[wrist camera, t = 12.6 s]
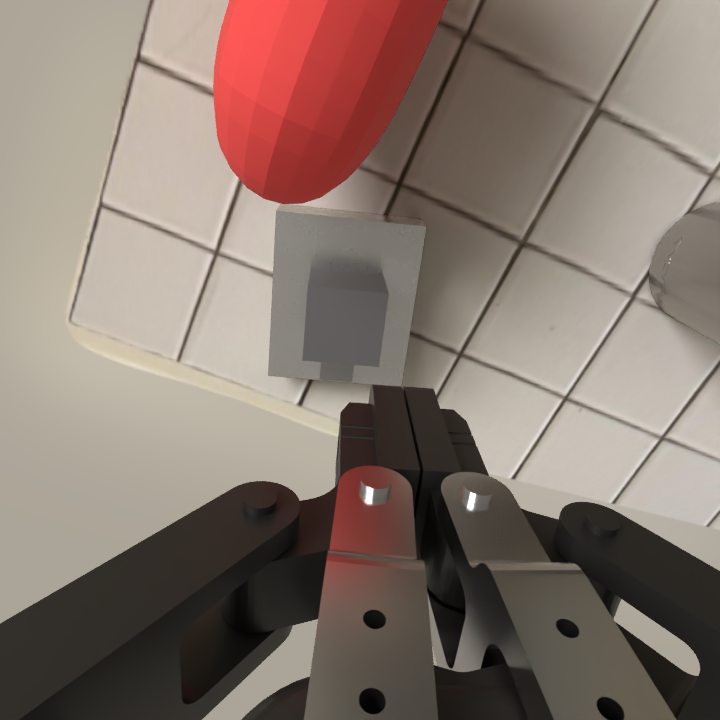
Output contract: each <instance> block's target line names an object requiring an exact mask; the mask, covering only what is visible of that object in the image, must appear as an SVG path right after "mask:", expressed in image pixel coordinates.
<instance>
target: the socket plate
mask: <svg viewBox="0 0 720 720" xmlns="http://www.w3.org/2000/svg"><path fill="white" fill-rule="evenodd" d="M425 233H426V226H425V224H424V223H423V222H422V221H421V220H420V219H415V218H406V217H397V216H388V215H378V214H369V213H360V212H351V211H342V210H332V209H323V208H314V207H305V206H295V205H286V204H281V205H280V206H279V207H278V209H277V210H276V225H275V246H274V267H273V288H272V308H271V329H270V350H269V371H268V376H276V377H288V378H300V379H312V380H324V381H336V382H348V383H360V384H375V385H388V386H402V380H403V373H404V367H405V360H406V354H407V348H408V341H409V335H410V329H411V322H412V316H413V310H414V303H415V297H416V291H417V284H418V278H419V272H420V265H421V259H422V252H423V246H424V240H425ZM311 268H315V269H325V270H336V271H346V272H356V273H366V274H376V275H384V279H385V282H386V285H387V289H388V292H389V297H388V304H387V312H386V319H385V326H384V334H383V341H382V348H381V356H380V363H379V367H372V366H360V365H348V364H337V363H325V362H313V361H302V358H303V344H304V331H305V317H306V304H307V290H308V282H309V277H310V271H311Z"/></svg>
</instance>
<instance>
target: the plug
mask: <svg viewBox="0 0 720 720" xmlns="http://www.w3.org/2000/svg"><path fill="white" fill-rule="evenodd" d="M388 297H389V292H388V289H387V285H386V282H385V279H384V275H376V274H366V273H356V272H346V271H336V270H325V269H315V268H311V271H310V277H309V282H308V290H307V304H306V317H305V331H304V344H303V358H302V361H313V362H325V363H337V364H348V365H360V366H372V367H379V363H380V356H381V348H382V341H383V334H384V326H385V319H386V312H387V304H388Z"/></svg>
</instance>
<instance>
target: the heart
mask: <svg viewBox="0 0 720 720" xmlns="http://www.w3.org/2000/svg"><path fill="white" fill-rule="evenodd" d="M447 1H448V0H229V4H228V7H227V10H226V14H225V17H224V20H223V24H222V27H221V32H220V36H219V41H218V46H217V52H216V59H215V66H214V84H213V89H214V108H215V118H216V128H217V137H218V141H219V144H220V148H221V150H222V152H223V154H224V156H225V158H226V160H227V162H228V164H229V166H230V168H231V169H232V171H233V172H234V173H235V174H236V175H237V177H238V178H239V179H240V180H241V181H242V182H243V184H244V185H245V186H246V187H247V188H248V189H250V190H251V191H253V192H254V193H256V194H258V195H259V196H261V197H262V198H264V199H267V200H271V201H274V202H278V203H281V204H298V203H305V202H308V201H311V200H314V199H317V198H320V197H322V196H324V195H325V194H326V193H328V192H329V191H331V190H332V189H334V188H335V187H336V186H338V185H339V184H341V183H342V182H344V181H345V180H346V179H347V178H348V177H349V176H350V175H351V174H352V173H353V172H354V171H355V170H356V169H357V168H358V167H359V165H360V164H361V163H362V162H363V161H364V159H365V158H366V157H367V156H368V154H369V153H370V152H371V150H372V149H373V148H374V146H375V145H376V144H377V142H378V141H379V139H380V137H381V136H382V134H383V133H384V131H385V130H386V128H387V126H388V124H389V123H390V121H391V119H392V118H393V116H394V114H395V112H396V110H397V108H398V106H399V104H400V102H401V100H402V98H403V96H404V94H405V92H406V90H407V88H408V86H409V84H410V83H411V81H412V79H413V77H414V75H415V72H416V70H417V68H418V66H419V64H420V62H421V59H422V57H423V55H424V53H425V51H426V49H427V47H428V44H429V42H430V40H431V38H432V36H433V33H434V31H435V29H436V27H437V24H438V22H439V20H440V18H441V15H442V13H443V11H444V8H445V6H446V4H447Z"/></svg>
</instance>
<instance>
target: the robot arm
mask: <svg viewBox="0 0 720 720" xmlns="http://www.w3.org/2000/svg"><path fill="white" fill-rule="evenodd" d="M649 283H650V288H651V292H652V295H653V297H654V299H655V301H656V303H657V304H658V305H659V307H660V308H661V309H662V310H663V311H664V312H666V313H667V314H669V315H670V316H672V317H674V318H675V319H677V320H679V321H680V322H682V323H684V324H686V325H687V326H689V327H691V328H692V329H694V330H696V331H697V332H699V333H701V334H702V335H704V336H706V337H707V338H709V339H711V340H713V341H714V342H716V343H718V344H720V203H713V204H709V205H706V206H703V207H700V208H698V209H696V210H694V211H692V212H690V213H689V214H687V215H686V216H684V217H683V218H682V219H680V220H679V221H678V222H676V223H675V224H674V225H673V227H672V228H671V229H670V230H669V231H668V232H667V233H666V234H665V236H664V237H663V239H662V240H661V242H660V243H659V245H658V246H657V249H656V251H655V253H654V256H653V258H652V262H651V267H650V273H649ZM621 599H623V600H624V601H626V602H627V603H629V604H630V605H632V606H633V607H634V608H636V609H637V610H639V611H640V612H642V613H643V614H645V615H646V616H647V617H649V618H650V619H652V620H653V621H655V622H656V623H658V624H659V625H661V626H662V627H663V628H665V629H666V630H668V631H669V632H671V633H672V634H674V635H675V636H677V637H678V638H680V639H681V640H682V641H684V642H685V643H686V644H687V645H689V647H690V648H691V649H692V650H693V651H694V653H695V654H696V656H697V658H698V660H699V663H700V673H699V676H694V675H690V674H688V673H686V672H684V671H682V670H681V669H680V668H678V667H677V666H675V665H674V664H673V663H671V662H670V661H668V660H667V659H666V658H664V657H663V656H662V655H660V654H659V653H657V652H656V651H655V650H653V649H652V648H650V647H649V646H648V645H646V644H645V643H644V642H642V641H641V640H639V639H638V638H637V637H635V636H634V635H633V634H631V633H630V632H628V631H627V630H626V629H624V628H623V627H621V626H620V625H619V624H617V623H616V622H615V621H614V616H615V613H616V611H617V608H618V605H619V603H620V601H621ZM315 619H318V624H317V631H316V638H315V645H314V652H313V659H312V666H311V674H310V677H307V678H304V679H301V680H298V681H296V682H293V683H291V684H289V685H288V686H286V687H284V688H282V689H280V690H278V691H277V692H275V693H273V694H272V695H270V696H269V697H267V698H266V699H264V700H263V701H262V702H261V703H259V704H258V705H257V706H256V707H255V708H253V709H252V710H251V711H250V712H249V713H248V714H247V715H246V716H245V717H244V718H243V719H242V720H720V571H719V570H717V569H715V568H713V567H712V566H710V565H708V564H706V563H705V562H703V561H701V560H699V559H698V558H696V557H694V556H692V555H691V554H689V553H687V552H686V551H684V550H682V549H680V548H679V547H677V546H675V545H673V544H672V543H670V542H668V541H667V540H665V539H663V538H661V537H660V536H658V535H656V534H654V533H653V532H651V531H649V530H648V529H646V528H644V527H642V526H641V525H639V524H637V523H635V522H634V521H632V520H630V519H628V518H627V517H625V516H623V515H621V514H620V513H618V512H616V511H614V510H612V509H610V508H607V507H605V506H602V505H599V504H595V503H589V502H575V503H571V504H568V505H566V506H565V507H564V508H563V509H562V511H561V513H560V516H559V520H558V519H554V518H550V517H547V516H543V515H540V514H536V513H532V512H529V511H526V510H524V509H521V508H520V506H519V505H518V503H517V501H516V500H515V498H514V496H513V494H512V493H511V491H510V490H509V489H508V488H507V487H506V486H505V485H504V484H502V483H501V482H499V481H498V480H496V479H494V478H492V477H490V476H489V475H488V472H487V470H486V468H485V465H484V463H483V460H482V458H481V455H480V453H479V451H478V448H477V446H476V443H475V441H474V438H473V436H471V431H470V429H469V426H468V424H467V422H466V420H464V419H463V418H462V417H461V416H460V415H459V414H458V413H457V412H455V411H454V410H450V409H440V407H439V404H438V401H437V398H436V395H435V392H434V390H433V389H430V388H417V387H403V388H402V387H401V386H388V385H375V384H372V385H371V389H370V397H369V404H365V403H351V402H349V404H348V405H347V406H346V407H345V408H344V409H343V410H342V412H341V415H340V426H339V437H338V448H337V458H336V481H335V487H334V488H333V489H332V490H331V491H330V492H328V493H326V494H325V495H322V496H320V497H317V498H313V499H309V500H303V501H299V499H298V497H297V495H296V494H295V493H294V492H293V491H292V490H290V489H289V488H287V487H285V486H283V485H281V484H278V483H273V482H266V481H256V482H249V483H245V484H242V485H239V486H237V487H235V488H233V489H231V490H229V491H228V492H226V493H224V494H222V495H221V496H219V497H217V498H215V499H214V500H212V501H210V502H209V503H207V504H205V505H203V506H202V507H200V508H199V509H196V510H195V511H193V512H191V513H190V514H188V515H186V516H184V517H183V518H181V519H179V520H178V521H176V522H174V523H172V524H171V525H169V526H167V527H166V528H164V529H162V530H161V531H159V532H157V533H155V534H154V535H152V536H150V537H148V538H147V539H145V540H143V541H141V542H140V543H138V544H136V545H135V546H133V547H131V548H129V549H128V550H126V551H124V552H123V553H121V554H119V555H117V556H116V557H114V558H112V559H111V560H109V561H107V562H105V563H104V564H102V565H100V566H99V567H97V568H95V569H93V570H92V571H90V572H88V573H87V574H85V575H83V576H81V577H80V578H78V579H76V580H74V581H73V582H71V583H69V584H68V585H66V586H64V587H63V588H61V589H59V590H57V591H56V592H54V593H52V594H50V595H49V596H47V597H45V598H44V599H42V600H40V601H38V602H37V603H35V604H33V605H32V606H30V607H28V608H26V609H25V610H23V611H21V612H19V613H18V614H16V615H14V616H13V617H11V618H9V619H7V620H6V621H4V622H2V623H1V624H0V720H202V719H203V718H204V717H205V716H206V715H207V714H208V713H209V712H210V711H211V710H212V709H213V708H214V707H216V706H217V705H218V704H219V703H220V702H221V701H222V700H223V699H224V698H225V697H226V696H227V695H228V694H229V693H230V692H231V691H232V690H233V689H235V687H237V686H238V685H239V684H240V683H241V682H242V681H243V680H244V679H245V678H246V677H247V676H248V675H249V674H250V673H251V672H252V671H253V670H254V669H256V667H258V666H259V665H260V664H261V663H262V661H264V660H265V659H266V658H267V657H268V656H269V655H270V654H271V653H272V652H273V651H275V650H276V649H277V648H278V647H279V646H280V645H281V644H282V643H283V642H284V641H285V640H286V638H287V637H288V636H289V634H290V632H291V629H292V625H296V624H300V623H304V622H308V621H312V620H315ZM432 646H433V650H434V654H435V658H436V662H437V666H435V665H433V652H432Z"/></svg>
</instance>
